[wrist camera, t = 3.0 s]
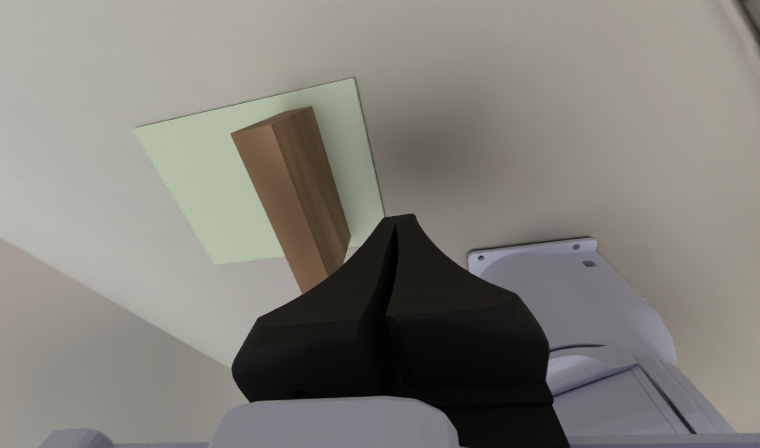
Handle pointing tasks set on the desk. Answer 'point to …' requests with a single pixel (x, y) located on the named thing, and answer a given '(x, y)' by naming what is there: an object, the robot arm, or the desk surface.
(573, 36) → the desk surface
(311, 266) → the wooden block
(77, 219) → the desk surface
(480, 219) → the desk surface
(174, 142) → the mat
